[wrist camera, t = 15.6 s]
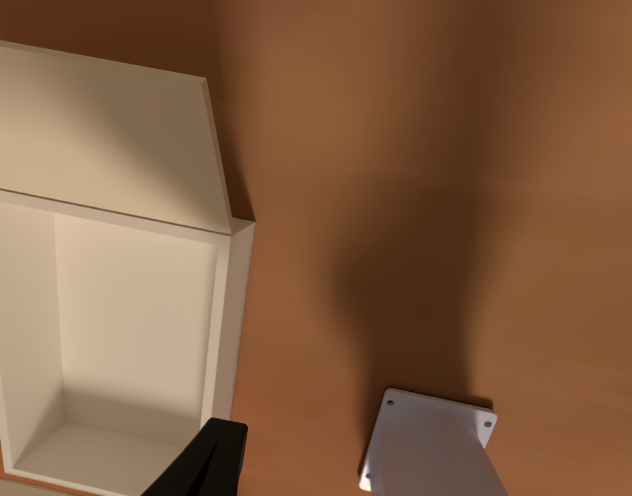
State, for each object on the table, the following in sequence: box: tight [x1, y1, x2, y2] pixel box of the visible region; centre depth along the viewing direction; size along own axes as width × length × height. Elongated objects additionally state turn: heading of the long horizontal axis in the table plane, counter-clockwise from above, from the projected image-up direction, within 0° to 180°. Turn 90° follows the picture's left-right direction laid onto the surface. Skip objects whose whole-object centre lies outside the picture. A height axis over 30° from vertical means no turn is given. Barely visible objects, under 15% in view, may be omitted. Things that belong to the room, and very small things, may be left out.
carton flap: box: [0, 40, 234, 234], centre depth 12 cm, size 7×14×1 cm
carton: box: [0, 188, 256, 496], centre depth 20 cm, size 20×14×4 cm
